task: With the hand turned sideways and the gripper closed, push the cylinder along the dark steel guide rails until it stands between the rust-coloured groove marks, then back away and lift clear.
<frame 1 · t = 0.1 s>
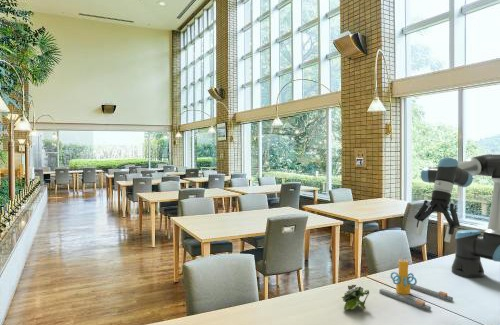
hand: (432, 238, 163), 28 cm above the table, tool tilted 20°, fingers open, 13 cm apart
passion flower: (356, 308, 157), on the table
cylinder: (403, 292, 173), on the table
guide track: (417, 297, 167), on the table
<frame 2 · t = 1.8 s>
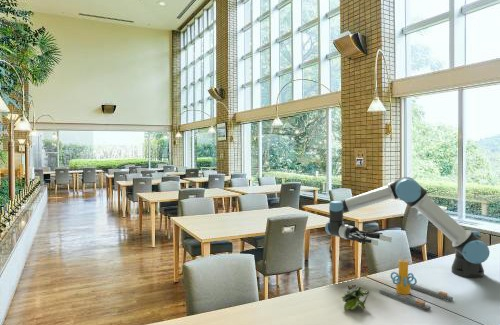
hand: (384, 241, 181), 22 cm above the table, tool horizontal, fingers open, 10 cm apart
nothing on the table moved.
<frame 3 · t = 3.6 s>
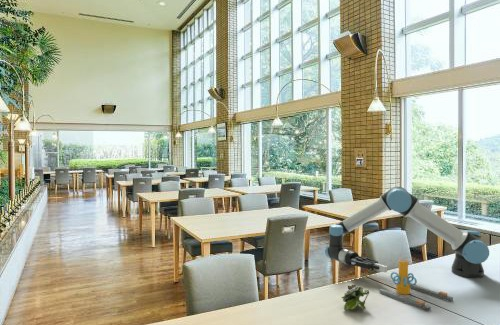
hand: (386, 269, 181), 8 cm above the table, tool horizontal, fingers closed
nothing on the table moved.
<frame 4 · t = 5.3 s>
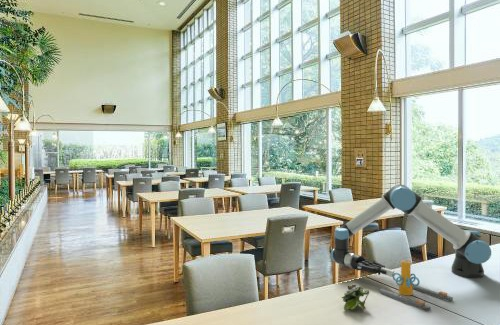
hand: (393, 274, 177), 7 cm above the table, tool horizontal, fingers closed
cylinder: (405, 293, 172), on the table
everything else where it was.
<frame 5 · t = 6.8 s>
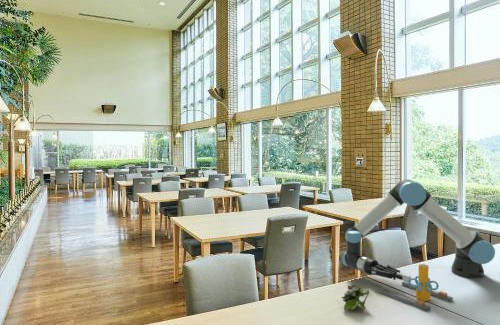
hand: (409, 279, 170), 7 cm above the table, tool horizontal, fingers closed
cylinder: (423, 299, 166), on the table, touching gripper
everything else where it was.
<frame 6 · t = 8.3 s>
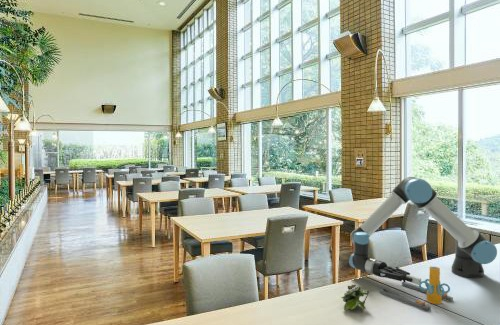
hand: (420, 281, 166), 8 cm above the table, tool horizontal, fingers closed
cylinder: (434, 302, 163), on the table, touching gripper
everything else where it was.
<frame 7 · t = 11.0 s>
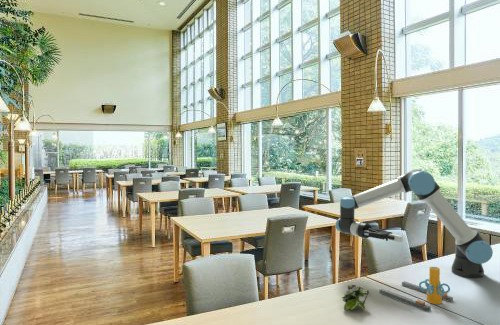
hand: (401, 239, 174), 25 cm above the table, tool horizontal, fingers closed
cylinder: (434, 302, 163), on the table
everything else where it was.
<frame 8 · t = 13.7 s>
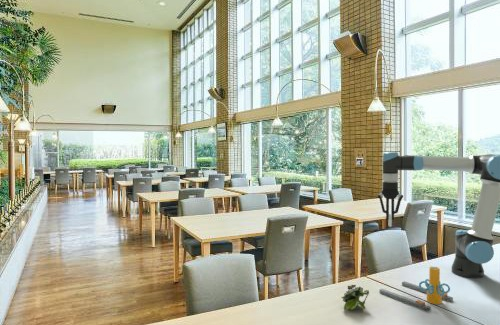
hand: (390, 226, 195), 26 cm above the table, tool pointing down, fingers closed
nothing on the table moved.
at the end: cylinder inside the target area (1.8 cm from its centre), on the table; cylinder tilted 0° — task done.
